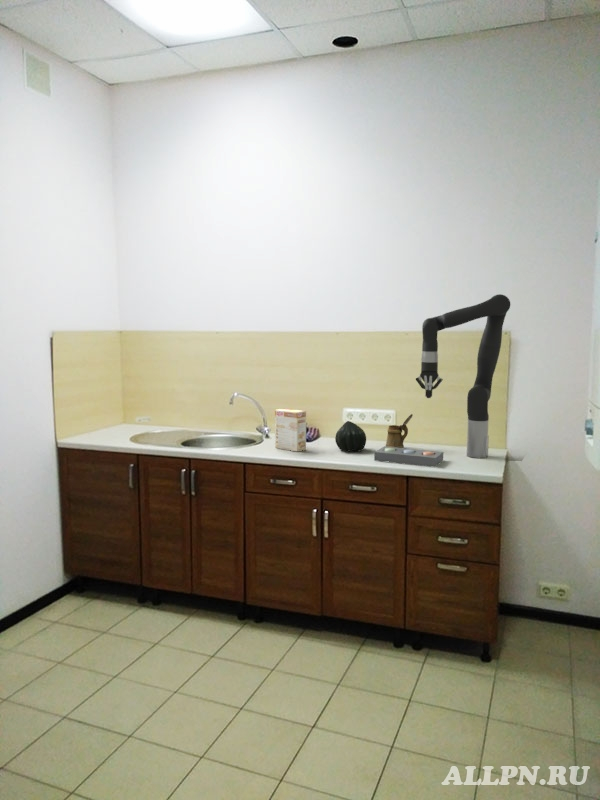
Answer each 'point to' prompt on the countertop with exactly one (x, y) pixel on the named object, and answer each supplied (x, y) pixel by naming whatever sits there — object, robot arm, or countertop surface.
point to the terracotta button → (428, 453)
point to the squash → (350, 437)
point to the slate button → (409, 451)
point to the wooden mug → (397, 434)
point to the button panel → (409, 456)
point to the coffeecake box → (290, 429)
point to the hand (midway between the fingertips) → (428, 397)
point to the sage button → (390, 449)
